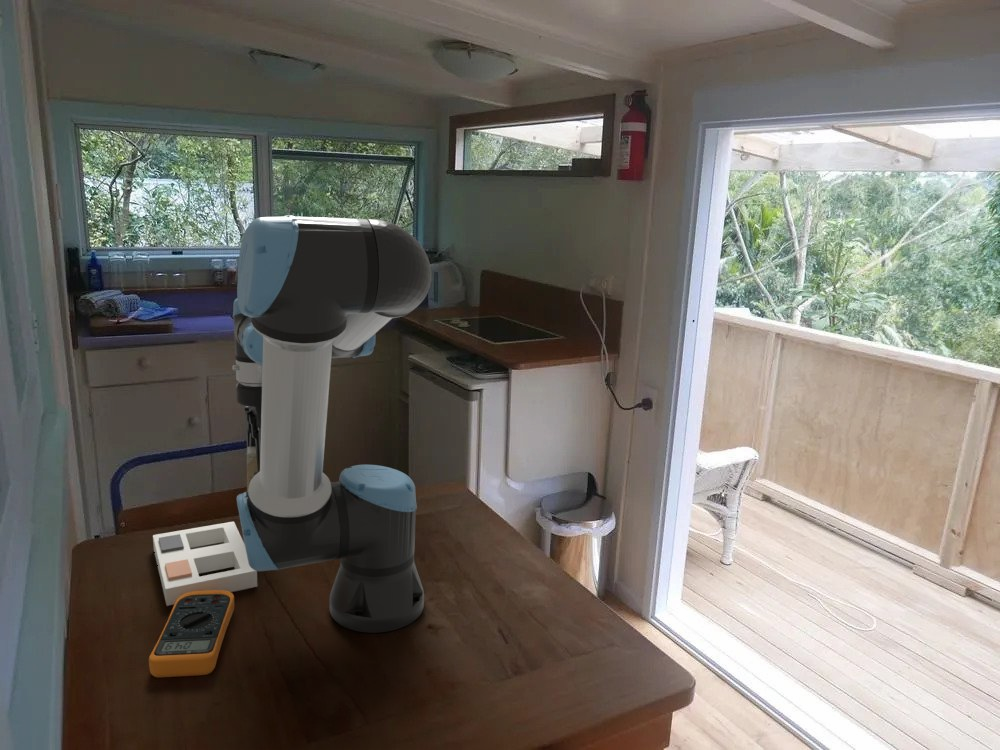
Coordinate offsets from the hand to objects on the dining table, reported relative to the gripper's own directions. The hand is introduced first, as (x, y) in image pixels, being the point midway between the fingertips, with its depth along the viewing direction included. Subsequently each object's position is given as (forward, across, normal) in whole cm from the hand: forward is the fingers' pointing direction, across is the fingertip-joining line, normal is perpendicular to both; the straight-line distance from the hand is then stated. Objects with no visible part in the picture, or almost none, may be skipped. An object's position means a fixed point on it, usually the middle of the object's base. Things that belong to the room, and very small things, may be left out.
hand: (261, 500), depth 140 cm
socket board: (+7, +8, -12) cm, 16 cm away
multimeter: (+9, +29, -16) cm, 34 cm away
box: (+1, 0, 0) cm, 1 cm away
